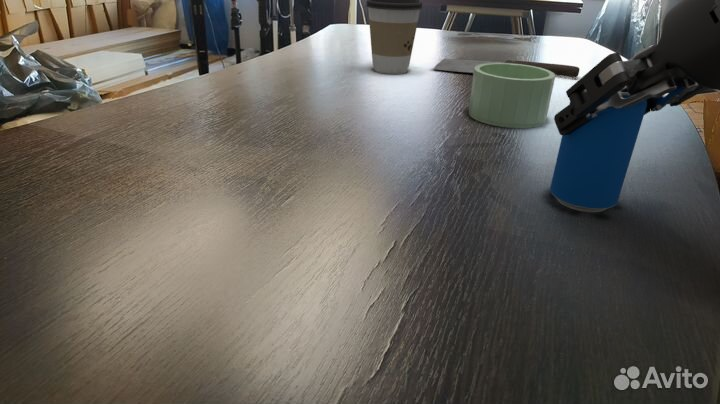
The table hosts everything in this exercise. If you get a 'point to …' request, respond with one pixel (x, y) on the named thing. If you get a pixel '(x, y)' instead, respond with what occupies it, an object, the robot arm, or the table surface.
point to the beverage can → (597, 159)
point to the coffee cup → (392, 33)
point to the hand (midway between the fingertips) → (587, 122)
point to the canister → (511, 95)
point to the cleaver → (469, 65)
